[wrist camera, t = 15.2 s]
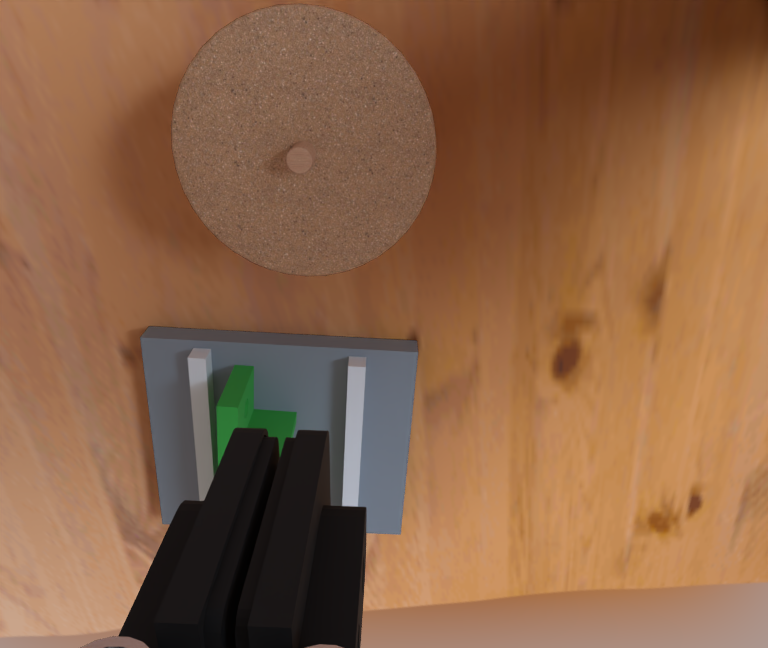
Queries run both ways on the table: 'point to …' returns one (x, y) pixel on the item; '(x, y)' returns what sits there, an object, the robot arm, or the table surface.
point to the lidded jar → (303, 139)
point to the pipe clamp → (248, 411)
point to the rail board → (285, 408)
